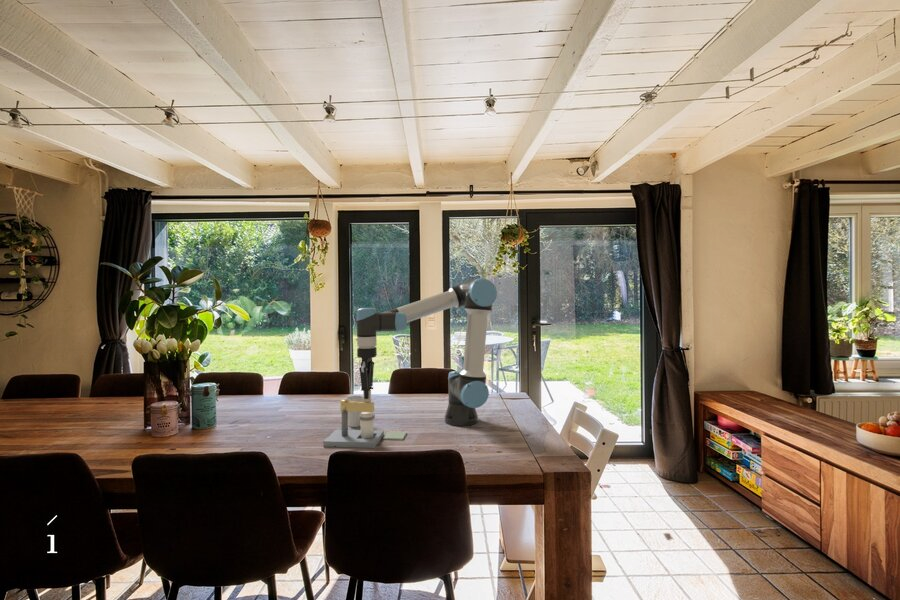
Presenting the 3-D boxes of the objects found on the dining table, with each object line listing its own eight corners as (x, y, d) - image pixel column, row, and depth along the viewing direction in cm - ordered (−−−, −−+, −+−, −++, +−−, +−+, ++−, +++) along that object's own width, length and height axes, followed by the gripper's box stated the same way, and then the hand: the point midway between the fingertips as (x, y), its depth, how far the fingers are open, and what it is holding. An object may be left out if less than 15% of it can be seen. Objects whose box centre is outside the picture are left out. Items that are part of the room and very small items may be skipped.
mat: (406, 433, 170) (406, 431, 170) (403, 439, 162) (403, 438, 162) (387, 432, 170) (387, 431, 170) (383, 439, 162) (383, 438, 162)
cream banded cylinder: (376, 438, 164) (376, 411, 164) (372, 443, 158) (372, 415, 158) (361, 438, 164) (361, 410, 164) (357, 443, 158) (357, 415, 158)
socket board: (383, 435, 168) (383, 406, 167) (375, 447, 154) (374, 416, 153) (336, 434, 169) (336, 405, 169) (323, 446, 155) (323, 415, 155)
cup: (359, 427, 177) (359, 400, 177) (342, 426, 179) (342, 399, 178) (367, 422, 185) (367, 396, 185) (350, 421, 186) (350, 395, 186)
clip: (374, 410, 161) (374, 400, 161) (371, 412, 158) (371, 402, 158) (342, 408, 163) (342, 399, 163) (339, 411, 160) (339, 401, 160)
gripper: (362, 344, 168) (362, 401, 168) (352, 349, 155) (352, 410, 155) (380, 344, 167) (380, 402, 168) (371, 349, 154) (372, 411, 155)
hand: (367, 406), depth 161 cm, fingers closed
